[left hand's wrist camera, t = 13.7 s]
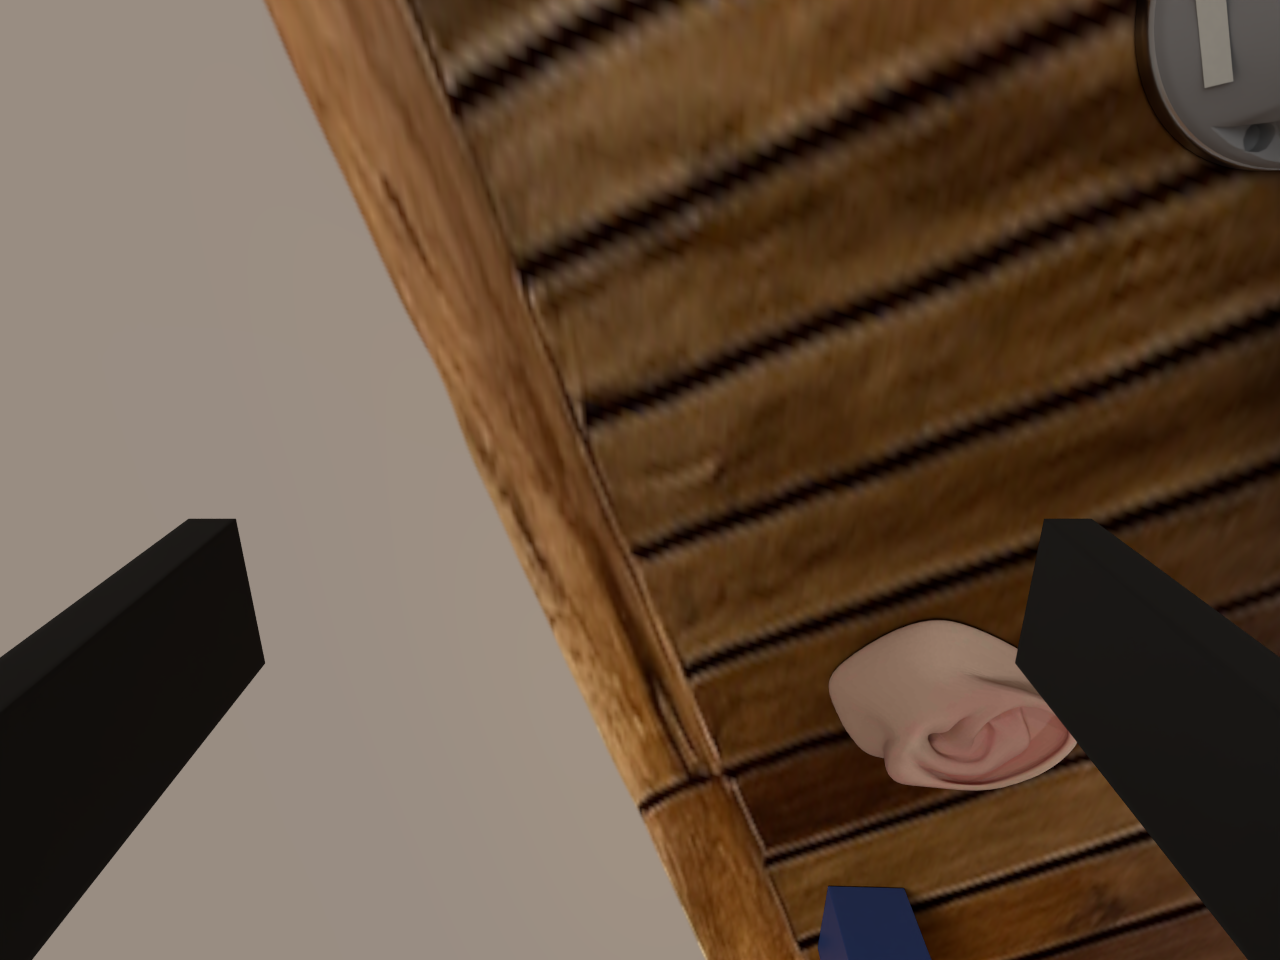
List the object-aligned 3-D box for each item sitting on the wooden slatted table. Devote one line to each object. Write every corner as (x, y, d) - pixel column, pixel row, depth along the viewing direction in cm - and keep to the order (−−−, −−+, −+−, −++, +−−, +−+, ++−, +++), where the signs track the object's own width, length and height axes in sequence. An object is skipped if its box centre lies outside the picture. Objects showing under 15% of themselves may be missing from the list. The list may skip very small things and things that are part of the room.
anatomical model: (811, 747, 45) (952, 611, 42) (797, 704, 49) (926, 577, 46) (968, 851, 48) (1112, 732, 45) (944, 804, 52) (1075, 690, 49)
